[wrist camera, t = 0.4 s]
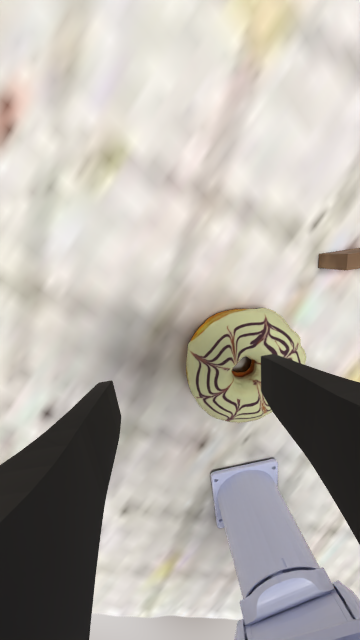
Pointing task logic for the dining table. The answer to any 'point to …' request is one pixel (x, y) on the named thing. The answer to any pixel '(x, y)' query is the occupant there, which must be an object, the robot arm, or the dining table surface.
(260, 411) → the decorated donut
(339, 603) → the robot arm
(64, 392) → the dining table surface
